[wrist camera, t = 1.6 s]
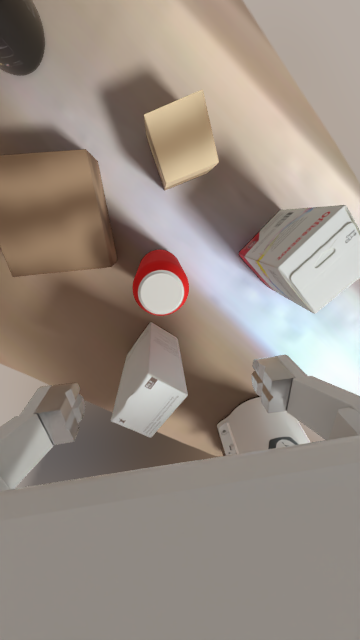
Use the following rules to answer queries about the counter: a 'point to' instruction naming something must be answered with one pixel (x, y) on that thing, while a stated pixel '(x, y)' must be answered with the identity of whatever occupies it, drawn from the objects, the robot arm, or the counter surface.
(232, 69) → the counter surface
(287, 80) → the counter surface
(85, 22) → the counter surface
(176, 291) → the beverage can
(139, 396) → the skincare box
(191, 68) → the counter surface
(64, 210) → the walnut block
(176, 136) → the oak block
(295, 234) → the ink box
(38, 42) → the supplement bottle
